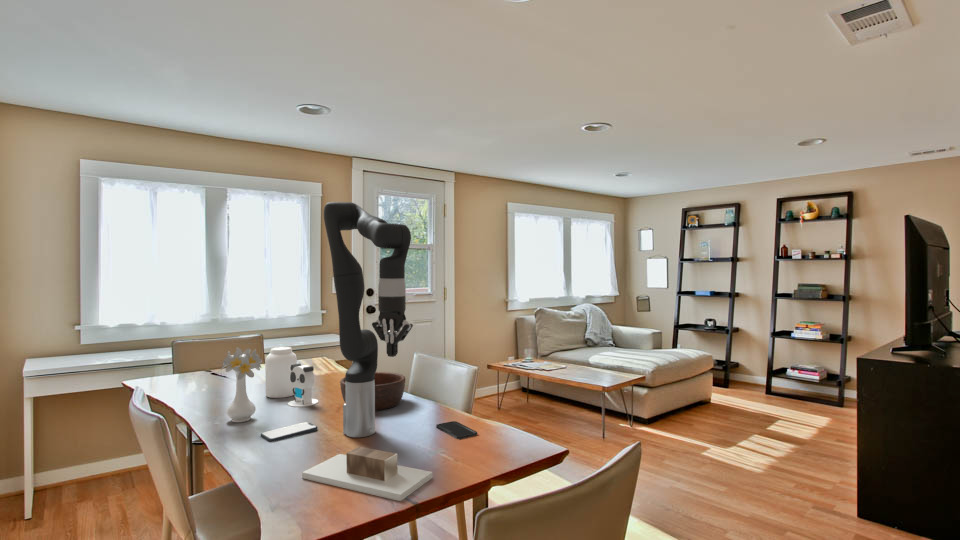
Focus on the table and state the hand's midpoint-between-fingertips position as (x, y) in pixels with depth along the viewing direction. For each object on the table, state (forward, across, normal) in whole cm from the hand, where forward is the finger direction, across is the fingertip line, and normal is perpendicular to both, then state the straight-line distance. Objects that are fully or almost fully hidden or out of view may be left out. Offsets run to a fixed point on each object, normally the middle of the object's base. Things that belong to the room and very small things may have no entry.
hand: (392, 356), depth 141 cm
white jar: (+30, +85, -38) cm, 98 cm away
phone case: (+30, +43, -3) cm, 52 cm away
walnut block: (+24, +2, +14) cm, 28 cm away
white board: (+28, -3, +14) cm, 32 cm away
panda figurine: (+29, +67, -32) cm, 80 cm away
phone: (+29, -5, -28) cm, 41 cm away
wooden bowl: (+29, +40, -42) cm, 65 cm away
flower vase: (+29, +69, -6) cm, 75 cm away
